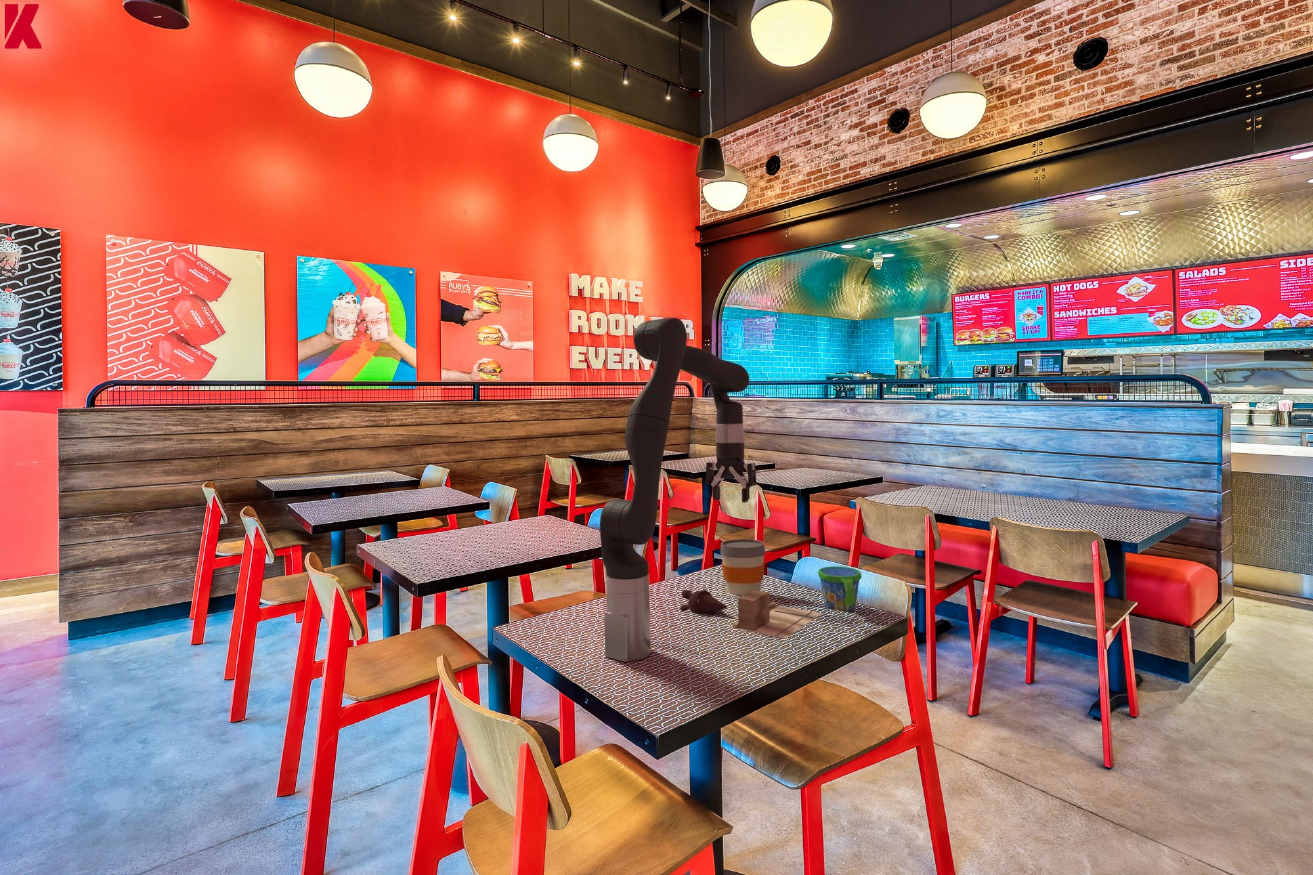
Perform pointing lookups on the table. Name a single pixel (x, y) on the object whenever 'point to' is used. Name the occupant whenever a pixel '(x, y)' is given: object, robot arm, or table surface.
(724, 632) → the table surface
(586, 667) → the table surface
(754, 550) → the reusable coffee cup
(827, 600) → the snack cup
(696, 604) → the icecream
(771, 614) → the board
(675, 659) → the table surface
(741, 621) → the block
